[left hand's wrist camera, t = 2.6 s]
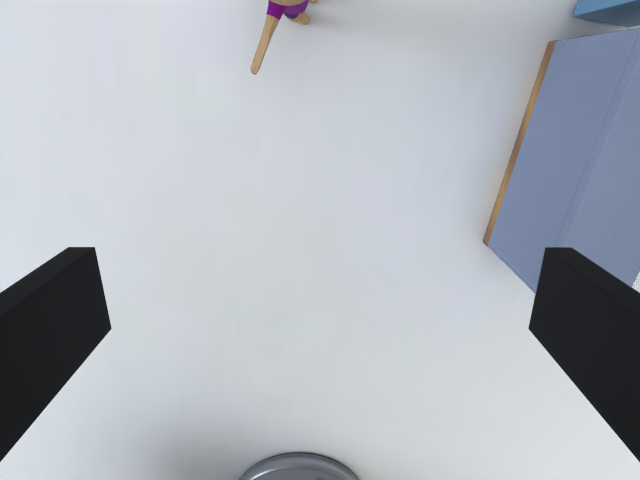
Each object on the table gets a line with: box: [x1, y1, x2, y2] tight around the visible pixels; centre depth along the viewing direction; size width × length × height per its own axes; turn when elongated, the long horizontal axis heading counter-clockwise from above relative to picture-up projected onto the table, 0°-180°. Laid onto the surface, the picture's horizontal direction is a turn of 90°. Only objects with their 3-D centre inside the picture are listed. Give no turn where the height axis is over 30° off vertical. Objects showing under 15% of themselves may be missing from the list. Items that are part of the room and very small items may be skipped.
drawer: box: [573, 0, 640, 27], centre depth 27 cm, size 21×4×9 cm, turn 170°
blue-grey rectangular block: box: [483, 28, 640, 294], centre depth 30 cm, size 16×5×10 cm, turn 170°
